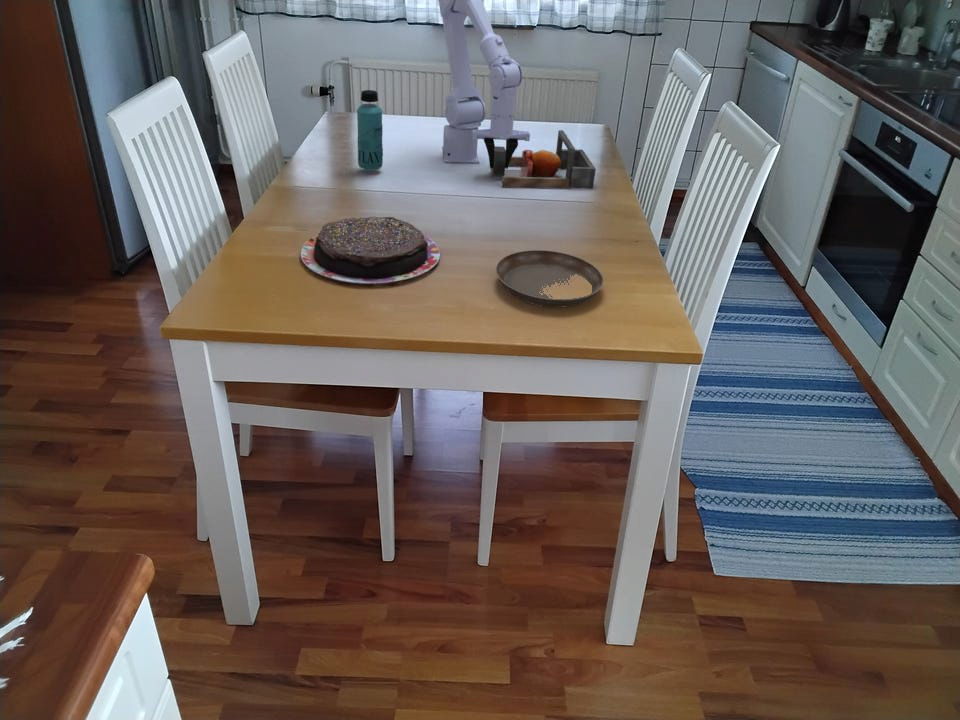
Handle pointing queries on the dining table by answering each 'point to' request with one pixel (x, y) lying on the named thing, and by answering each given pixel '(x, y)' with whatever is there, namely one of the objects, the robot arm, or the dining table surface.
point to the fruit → (545, 164)
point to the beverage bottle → (369, 132)
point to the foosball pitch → (571, 159)
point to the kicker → (500, 172)
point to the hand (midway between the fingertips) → (498, 167)
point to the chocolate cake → (370, 251)
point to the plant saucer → (545, 275)
